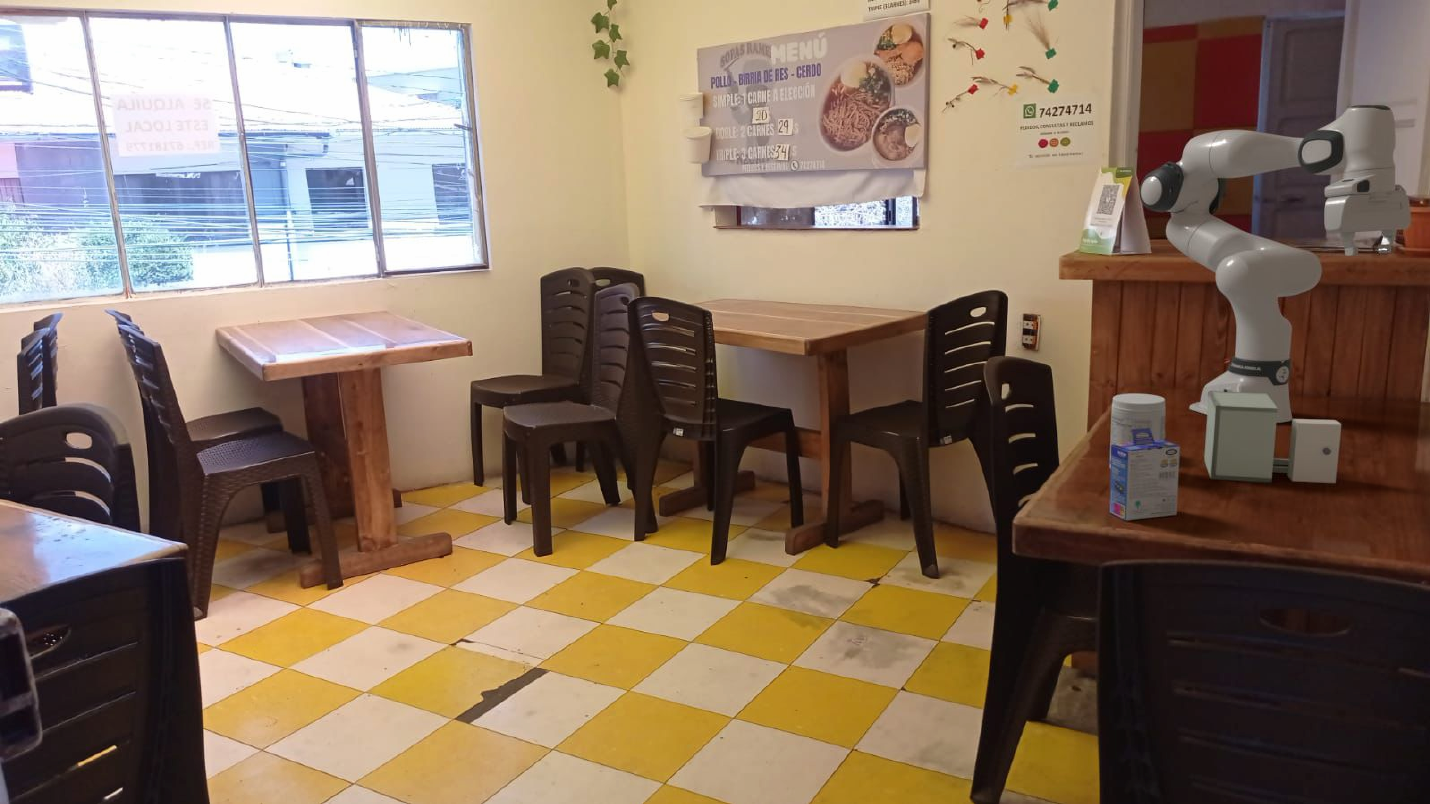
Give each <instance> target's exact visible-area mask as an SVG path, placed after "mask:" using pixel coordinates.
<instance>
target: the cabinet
mask: <svg viewBox="0 0 1430 804" xmlns="http://www.w3.org/2000/svg"><path fill="white" fill-rule="evenodd" d="M1277 410H1278V408H1277V407H1276V405H1275V404H1274V403H1273V401H1272V400H1271V399H1270V397H1269V396H1268V395H1267V393H1243V392H1215V391H1209V398H1208V412H1207V416H1206V429H1205V442H1204V443H1205V445H1204V455H1203V456H1204V458H1203V459H1204V460H1203V461H1204V464H1205V467H1206V469H1207V472H1208V474H1209V475H1208V476H1209V477H1210V480H1223V481H1235V482H1236V481H1239V482H1255V483H1267V484H1269V483H1270V484H1271V483H1272V480H1273V479H1272V478H1273V473H1279V474H1280V473H1281V474H1288V464H1289V458H1277V457H1275V456H1274V455H1275V444H1276V431H1277V423H1276V422H1277Z"/></svg>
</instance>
